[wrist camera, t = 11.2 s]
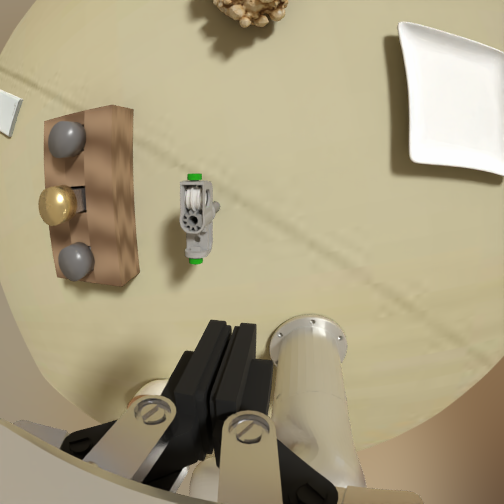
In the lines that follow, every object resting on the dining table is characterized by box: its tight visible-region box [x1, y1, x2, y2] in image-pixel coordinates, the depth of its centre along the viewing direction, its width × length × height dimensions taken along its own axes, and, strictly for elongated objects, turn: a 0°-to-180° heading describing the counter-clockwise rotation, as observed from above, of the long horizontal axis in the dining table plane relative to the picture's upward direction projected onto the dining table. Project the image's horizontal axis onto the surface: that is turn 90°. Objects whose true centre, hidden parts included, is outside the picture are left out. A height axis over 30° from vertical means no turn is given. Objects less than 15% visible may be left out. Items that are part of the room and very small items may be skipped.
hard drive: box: [0, 90, 23, 137], centre depth 41 cm, size 2×8×12 cm
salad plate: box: [397, 22, 504, 176], centre depth 31 cm, size 21×21×3 cm
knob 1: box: [48, 121, 86, 158], centre depth 36 cm, size 5×5×8 cm
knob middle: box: [39, 185, 87, 226], centre depth 37 cm, size 5×5×8 cm
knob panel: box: [44, 105, 140, 287], centre depth 41 cm, size 26×14×6 cm, turn 179°
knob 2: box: [58, 242, 95, 281], centre depth 42 cm, size 5×5×8 cm
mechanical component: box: [180, 174, 220, 264], centre depth 38 cm, size 3×10×10 cm, turn 178°
